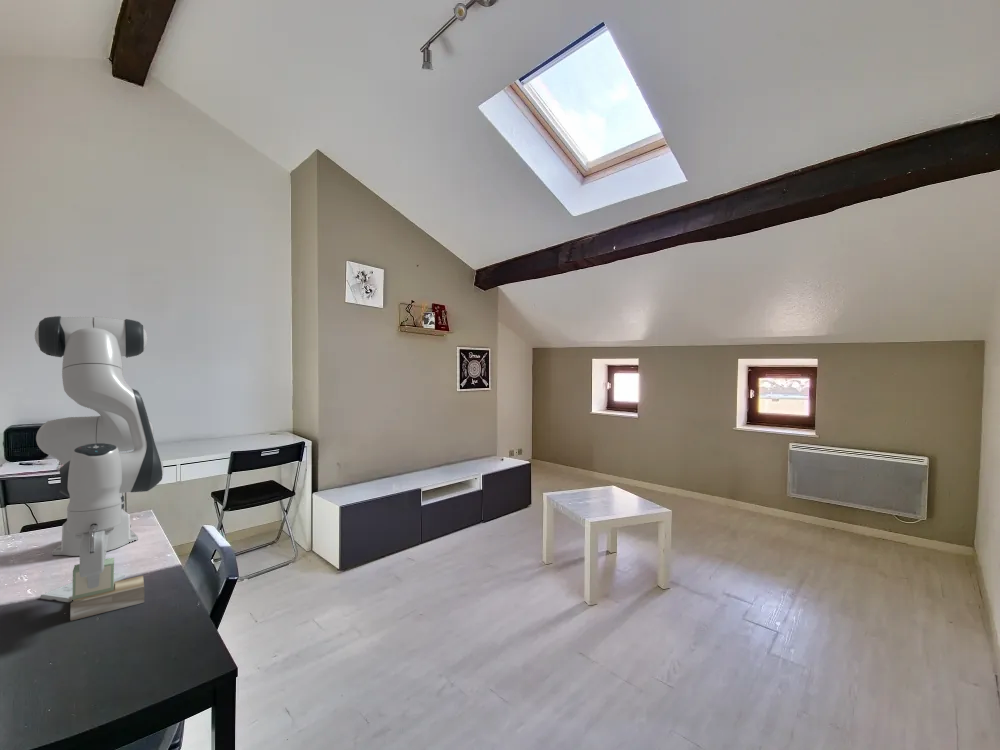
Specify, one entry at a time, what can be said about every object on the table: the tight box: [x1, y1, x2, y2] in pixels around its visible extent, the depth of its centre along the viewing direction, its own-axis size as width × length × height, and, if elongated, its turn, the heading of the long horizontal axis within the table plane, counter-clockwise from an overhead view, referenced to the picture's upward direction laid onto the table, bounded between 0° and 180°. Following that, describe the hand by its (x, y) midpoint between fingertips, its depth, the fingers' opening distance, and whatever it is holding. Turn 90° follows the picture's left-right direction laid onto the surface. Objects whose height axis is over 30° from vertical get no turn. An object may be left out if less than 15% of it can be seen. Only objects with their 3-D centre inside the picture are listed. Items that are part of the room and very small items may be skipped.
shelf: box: [69, 575, 145, 622], centre depth 100 cm, size 12×12×4 cm
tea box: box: [72, 557, 115, 600], centre depth 97 cm, size 4×6×6 cm, turn 130°
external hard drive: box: [40, 572, 126, 603], centre depth 106 cm, size 2×8×12 cm
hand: (94, 582), depth 97 cm, fingers closed on tea box, 4 cm apart
